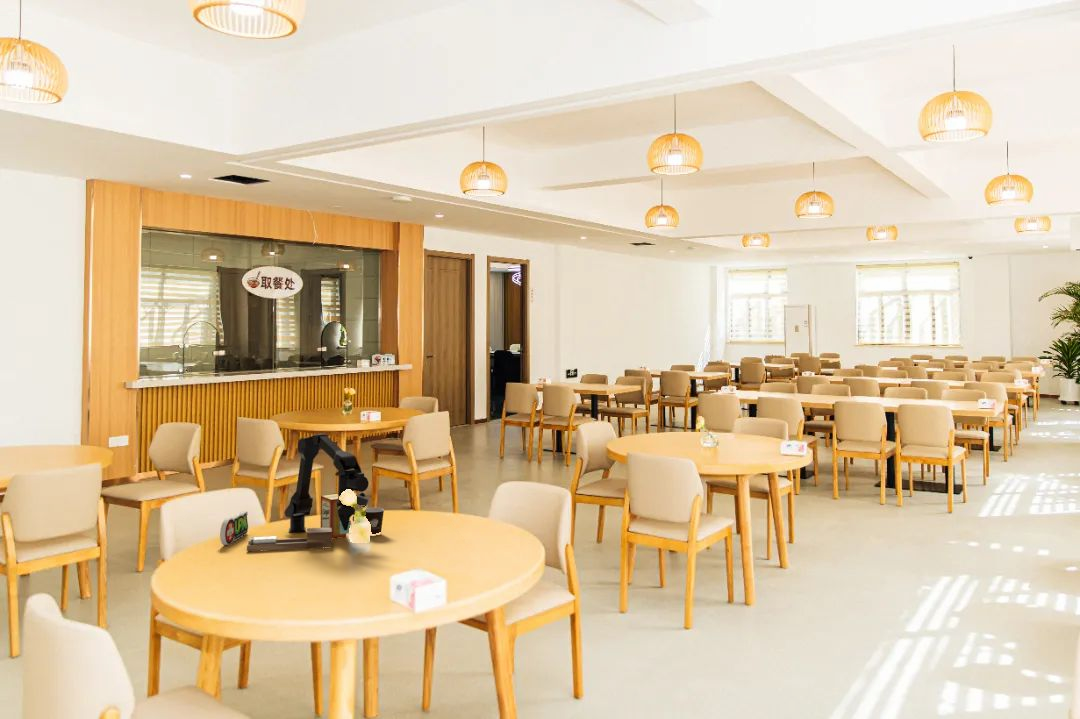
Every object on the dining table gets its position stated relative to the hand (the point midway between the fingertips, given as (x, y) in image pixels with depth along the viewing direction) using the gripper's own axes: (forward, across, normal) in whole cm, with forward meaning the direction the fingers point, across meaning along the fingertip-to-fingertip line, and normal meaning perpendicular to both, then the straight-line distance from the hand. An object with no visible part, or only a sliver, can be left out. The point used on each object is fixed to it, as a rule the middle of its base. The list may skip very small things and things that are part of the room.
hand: (345, 528), depth 297 cm
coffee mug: (+6, +15, -10) cm, 19 cm away
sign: (+7, +16, +41) cm, 45 cm away
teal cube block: (+1, 0, 0) cm, 1 cm away
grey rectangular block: (+6, +1, +30) cm, 30 cm away
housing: (+6, +1, +20) cm, 21 cm away
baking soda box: (+6, +16, +4) cm, 18 cm away
